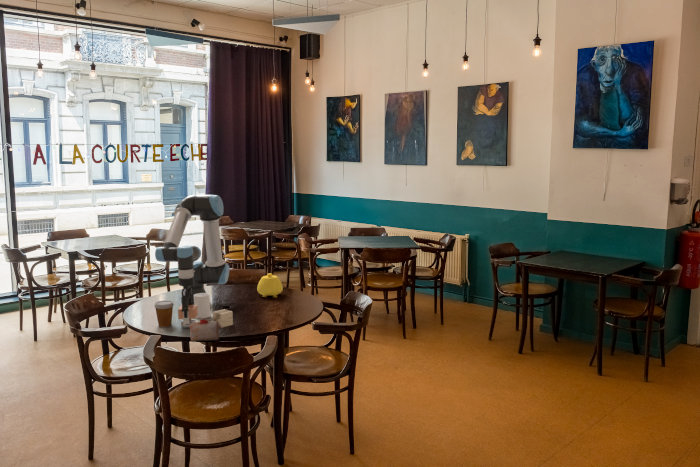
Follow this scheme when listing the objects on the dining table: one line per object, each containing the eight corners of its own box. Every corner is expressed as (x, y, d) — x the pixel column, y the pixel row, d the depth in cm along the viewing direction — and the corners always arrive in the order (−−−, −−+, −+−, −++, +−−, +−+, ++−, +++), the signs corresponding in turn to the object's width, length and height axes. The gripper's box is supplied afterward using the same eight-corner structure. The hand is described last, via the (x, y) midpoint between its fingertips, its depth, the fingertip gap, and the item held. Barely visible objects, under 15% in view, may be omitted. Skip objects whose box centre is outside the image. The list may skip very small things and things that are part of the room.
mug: (192, 313, 332) (191, 292, 330) (207, 312, 335) (206, 290, 334) (195, 319, 321) (194, 297, 320) (211, 317, 325) (210, 295, 323)
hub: (178, 327, 307) (177, 308, 306) (190, 324, 312) (189, 305, 311) (186, 330, 302) (185, 310, 301) (198, 327, 308) (197, 307, 306)
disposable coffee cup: (157, 323, 315) (156, 300, 313) (176, 322, 316) (175, 300, 314) (153, 328, 306) (152, 305, 304) (172, 327, 306) (171, 304, 305)
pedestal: (213, 325, 311) (212, 311, 310) (224, 322, 316) (224, 309, 315) (221, 327, 306) (221, 314, 305) (232, 324, 311) (232, 311, 310)
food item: (188, 342, 283) (187, 322, 282) (190, 337, 291) (189, 317, 290) (218, 341, 285) (217, 321, 284) (219, 336, 293) (219, 316, 292)
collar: (178, 319, 302) (177, 309, 302) (181, 314, 310) (181, 305, 310) (194, 318, 303) (194, 309, 302) (197, 314, 311) (197, 305, 310)
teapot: (259, 291, 383) (259, 269, 381) (284, 290, 384) (283, 269, 382) (255, 299, 364) (255, 276, 362) (281, 298, 364) (281, 276, 362)
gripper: (189, 281, 294) (191, 327, 297) (197, 272, 314) (199, 315, 317) (173, 281, 293) (176, 327, 296) (183, 272, 314) (185, 315, 317)
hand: (188, 321), depth 307 cm, fingers closed on collar, 8 cm apart
